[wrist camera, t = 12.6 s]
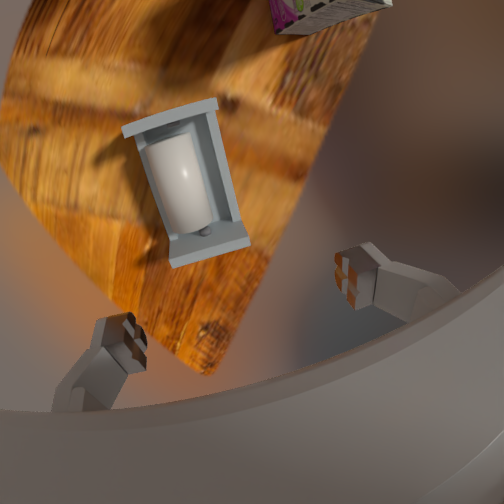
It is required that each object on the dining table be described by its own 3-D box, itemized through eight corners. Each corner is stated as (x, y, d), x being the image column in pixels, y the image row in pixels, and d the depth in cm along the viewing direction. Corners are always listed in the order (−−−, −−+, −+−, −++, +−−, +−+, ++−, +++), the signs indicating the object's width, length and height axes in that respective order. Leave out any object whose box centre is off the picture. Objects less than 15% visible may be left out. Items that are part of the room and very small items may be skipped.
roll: (159, 139, 29) (135, 151, 25) (197, 129, 27) (176, 139, 23) (183, 214, 34) (164, 235, 30) (219, 210, 33) (204, 232, 29)
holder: (134, 122, 27) (121, 126, 21) (210, 99, 28) (215, 97, 22) (173, 240, 35) (172, 268, 30) (239, 220, 36) (250, 245, 30)
